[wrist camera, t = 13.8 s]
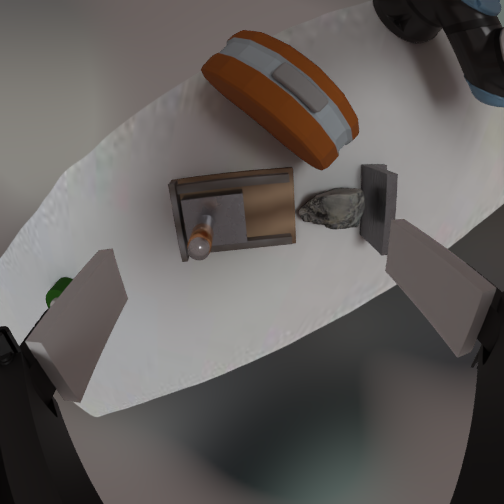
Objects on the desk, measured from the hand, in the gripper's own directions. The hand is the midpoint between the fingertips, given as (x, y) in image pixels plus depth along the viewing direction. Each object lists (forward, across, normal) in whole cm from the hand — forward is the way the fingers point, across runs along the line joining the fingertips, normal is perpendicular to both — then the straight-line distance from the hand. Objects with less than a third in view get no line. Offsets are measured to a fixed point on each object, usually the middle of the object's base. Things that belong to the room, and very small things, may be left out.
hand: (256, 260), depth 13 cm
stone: (+39, +16, -9) cm, 43 cm away
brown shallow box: (+39, -2, -9) cm, 40 cm away
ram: (+37, -5, -9) cm, 39 cm away
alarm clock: (+39, +7, +10) cm, 41 cm away
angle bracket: (+39, +25, -9) cm, 47 cm away
